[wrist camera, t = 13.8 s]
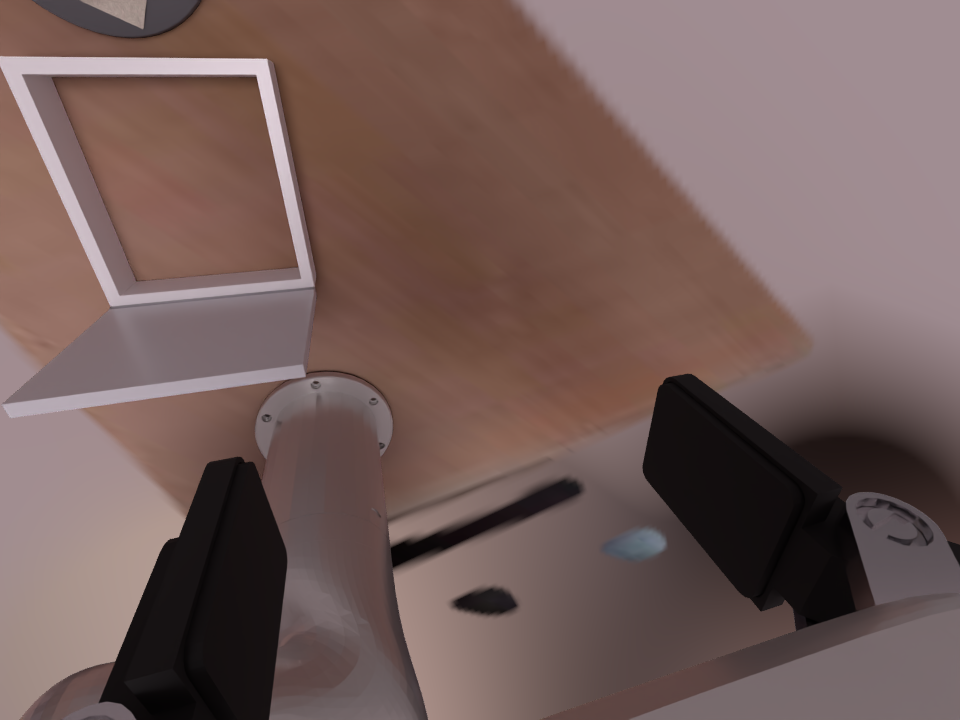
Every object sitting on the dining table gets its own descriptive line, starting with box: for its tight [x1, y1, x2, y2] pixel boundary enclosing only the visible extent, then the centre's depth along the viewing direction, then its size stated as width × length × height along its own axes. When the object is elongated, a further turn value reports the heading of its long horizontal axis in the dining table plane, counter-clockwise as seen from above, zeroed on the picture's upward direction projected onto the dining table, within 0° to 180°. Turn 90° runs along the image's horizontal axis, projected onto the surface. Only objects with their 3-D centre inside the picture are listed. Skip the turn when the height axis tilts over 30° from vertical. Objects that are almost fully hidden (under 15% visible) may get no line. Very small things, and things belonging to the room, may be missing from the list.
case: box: [0, 57, 317, 418], centre depth 26 cm, size 16×14×15 cm
